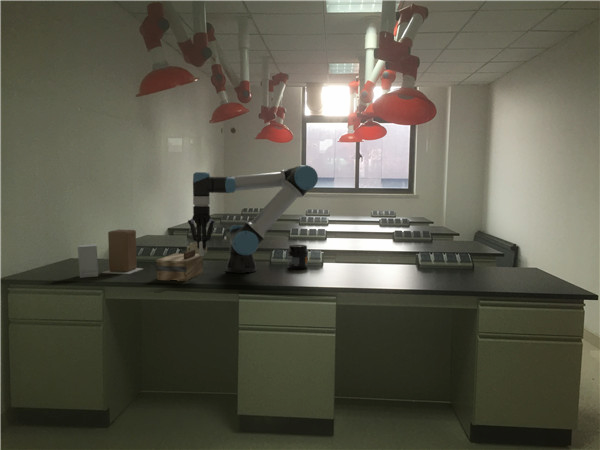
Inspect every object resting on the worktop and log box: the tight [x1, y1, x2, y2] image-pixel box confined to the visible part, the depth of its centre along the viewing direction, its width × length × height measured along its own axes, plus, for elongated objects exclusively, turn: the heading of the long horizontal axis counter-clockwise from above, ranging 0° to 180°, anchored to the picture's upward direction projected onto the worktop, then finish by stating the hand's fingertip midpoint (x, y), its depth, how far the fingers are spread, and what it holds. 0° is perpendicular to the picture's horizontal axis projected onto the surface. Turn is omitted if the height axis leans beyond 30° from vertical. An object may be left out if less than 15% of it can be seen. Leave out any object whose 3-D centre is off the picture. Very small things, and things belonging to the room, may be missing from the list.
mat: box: [102, 267, 144, 275], centre depth 229 cm, size 14×14×1 cm
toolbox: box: [156, 257, 204, 282], centre depth 218 cm, size 14×21×8 cm
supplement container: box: [287, 244, 309, 271], centre depth 242 cm, size 10×10×12 cm
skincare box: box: [77, 243, 99, 279], centre depth 215 cm, size 8×6×15 cm
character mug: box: [186, 241, 208, 254], centre depth 240 cm, size 11×7×13 cm, turn 85°
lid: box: [155, 249, 204, 264], centre depth 217 cm, size 15×21×4 cm
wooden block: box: [107, 229, 138, 272], centre depth 228 cm, size 10×10×20 cm
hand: (201, 255), depth 216 cm, fingers closed
